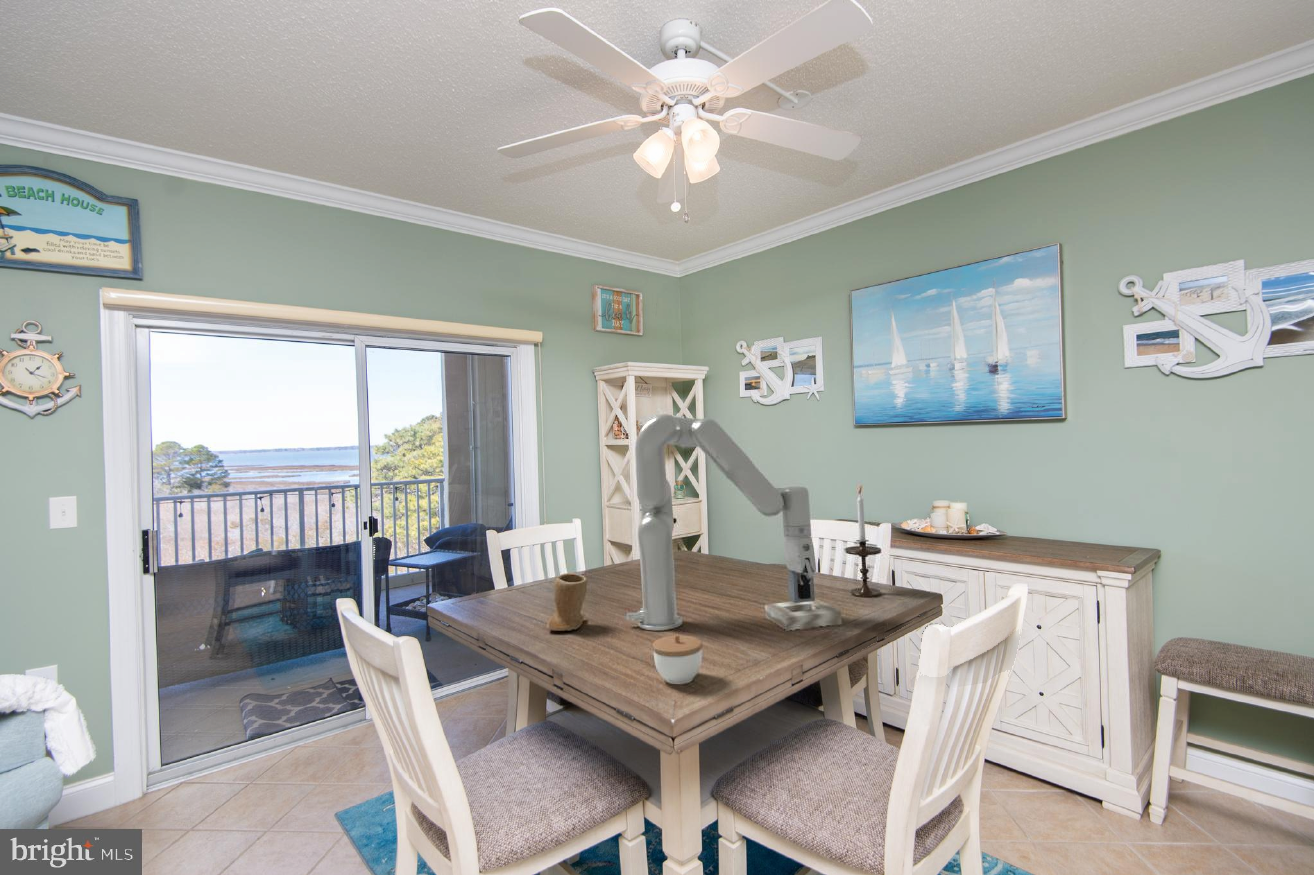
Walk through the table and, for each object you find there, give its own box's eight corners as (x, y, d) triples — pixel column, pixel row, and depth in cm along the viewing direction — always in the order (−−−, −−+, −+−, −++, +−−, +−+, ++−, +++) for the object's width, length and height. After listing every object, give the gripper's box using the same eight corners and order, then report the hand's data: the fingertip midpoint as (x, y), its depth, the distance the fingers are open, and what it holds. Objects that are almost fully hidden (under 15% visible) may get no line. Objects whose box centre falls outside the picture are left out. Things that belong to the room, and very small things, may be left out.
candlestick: (880, 589, 193) (873, 483, 194) (886, 598, 182) (880, 485, 183) (845, 589, 195) (839, 484, 196) (850, 598, 184) (843, 486, 185)
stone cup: (585, 633, 163) (582, 579, 163) (543, 635, 164) (540, 581, 164) (594, 617, 178) (591, 568, 179) (555, 619, 179) (553, 569, 179)
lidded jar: (647, 686, 125) (644, 641, 125) (664, 667, 135) (662, 626, 135) (695, 691, 121) (692, 645, 121) (709, 671, 131) (707, 629, 131)
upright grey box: (794, 603, 162) (793, 574, 162) (789, 600, 165) (787, 571, 166) (814, 600, 163) (812, 571, 164) (808, 597, 167) (807, 569, 167)
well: (786, 631, 156) (785, 617, 156) (765, 617, 169) (765, 604, 169) (841, 624, 159) (840, 611, 159) (816, 610, 173) (815, 598, 173)
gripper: (824, 533, 158) (828, 602, 157) (796, 526, 174) (800, 588, 173) (798, 536, 156) (802, 605, 156) (772, 528, 172) (776, 591, 172)
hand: (801, 596), depth 164 cm, fingers closed on upright grey box, 3 cm apart
